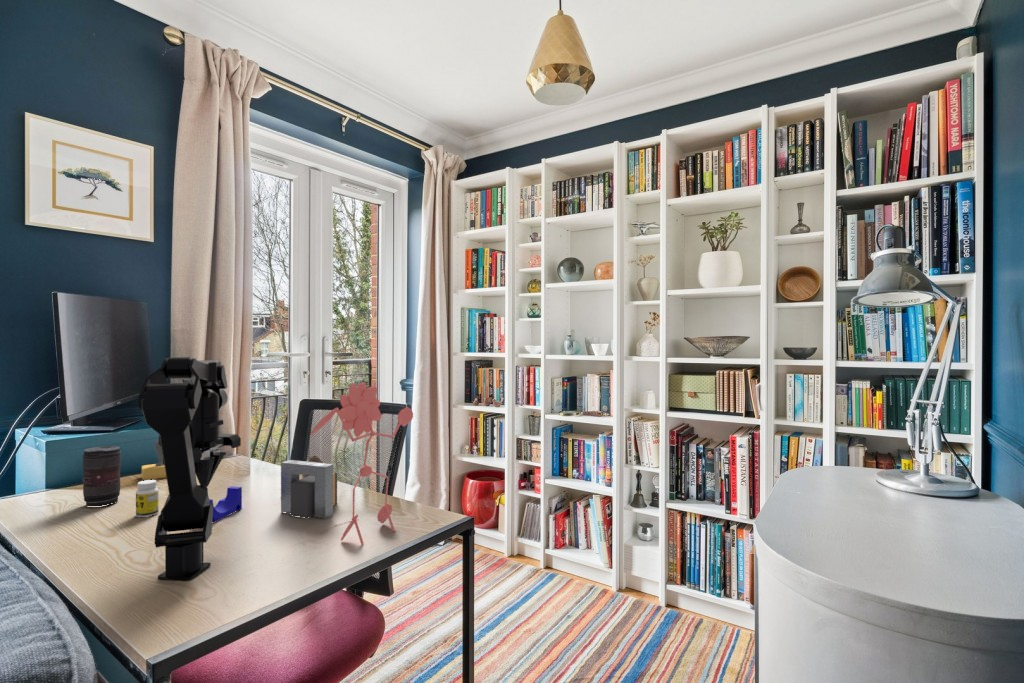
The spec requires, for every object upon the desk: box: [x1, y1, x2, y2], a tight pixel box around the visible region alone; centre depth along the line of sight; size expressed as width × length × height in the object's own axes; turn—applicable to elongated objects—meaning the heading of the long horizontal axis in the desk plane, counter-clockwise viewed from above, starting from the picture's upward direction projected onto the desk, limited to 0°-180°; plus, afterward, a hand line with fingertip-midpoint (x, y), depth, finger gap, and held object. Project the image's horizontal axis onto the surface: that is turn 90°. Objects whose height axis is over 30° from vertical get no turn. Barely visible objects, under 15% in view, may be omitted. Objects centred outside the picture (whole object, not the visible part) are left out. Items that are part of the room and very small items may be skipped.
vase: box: [301, 455, 324, 479], centre depth 159 cm, size 7×7×9 cm
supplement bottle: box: [135, 479, 160, 518], centre depth 132 cm, size 5×5×8 cm
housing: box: [280, 459, 334, 519], centre depth 133 cm, size 3×14×13 cm, turn 72°
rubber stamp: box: [141, 440, 167, 481], centre depth 167 cm, size 10×6×12 cm, turn 128°
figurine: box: [310, 381, 415, 545], centre depth 122 cm, size 15×26×35 cm, turn 145°
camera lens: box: [81, 445, 122, 507], centre depth 140 cm, size 8×8×15 cm
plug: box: [290, 471, 338, 519], centre depth 137 cm, size 12×5×9 cm, turn 163°
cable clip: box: [209, 486, 243, 523], centre depth 132 cm, size 12×4×6 cm, turn 171°
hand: (204, 487), depth 116 cm, fingers closed
